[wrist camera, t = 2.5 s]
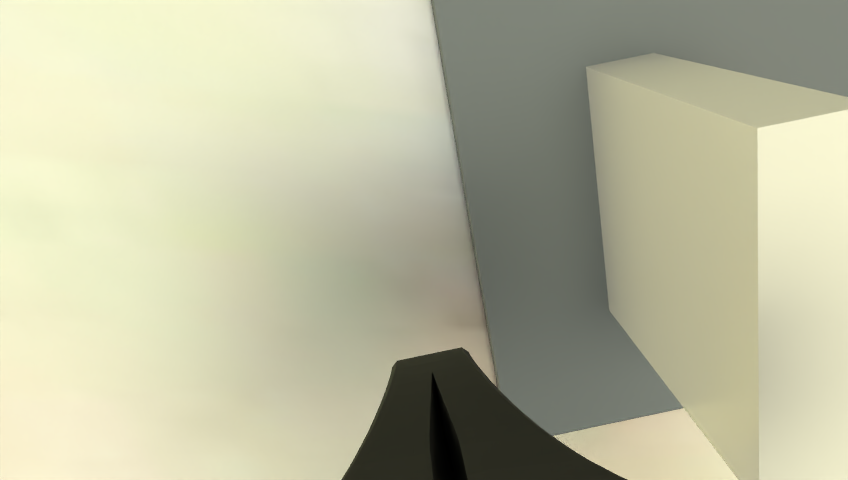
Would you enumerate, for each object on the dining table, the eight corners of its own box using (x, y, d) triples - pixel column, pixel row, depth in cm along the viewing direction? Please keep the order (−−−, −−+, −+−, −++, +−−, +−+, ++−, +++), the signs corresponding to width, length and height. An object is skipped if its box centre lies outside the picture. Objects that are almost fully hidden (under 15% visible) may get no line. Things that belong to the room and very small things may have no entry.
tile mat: (929, 341, 25) (947, 352, 24) (505, 430, 25) (509, 444, 24) (983, -186, 19) (1009, -194, 18) (418, -74, 18) (420, -76, 18)
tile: (676, 296, 22) (867, 483, 14) (609, 310, 22) (759, 506, 14) (663, 50, 19) (894, 100, 11) (585, 66, 19) (757, 128, 11)
